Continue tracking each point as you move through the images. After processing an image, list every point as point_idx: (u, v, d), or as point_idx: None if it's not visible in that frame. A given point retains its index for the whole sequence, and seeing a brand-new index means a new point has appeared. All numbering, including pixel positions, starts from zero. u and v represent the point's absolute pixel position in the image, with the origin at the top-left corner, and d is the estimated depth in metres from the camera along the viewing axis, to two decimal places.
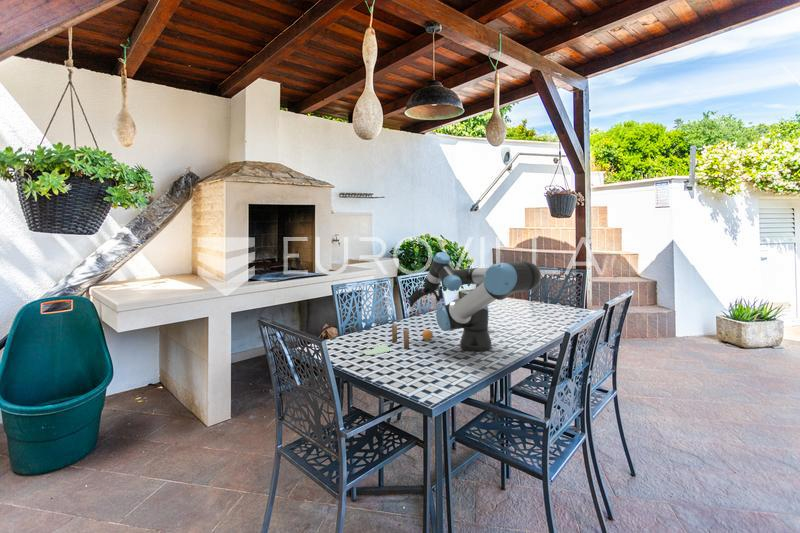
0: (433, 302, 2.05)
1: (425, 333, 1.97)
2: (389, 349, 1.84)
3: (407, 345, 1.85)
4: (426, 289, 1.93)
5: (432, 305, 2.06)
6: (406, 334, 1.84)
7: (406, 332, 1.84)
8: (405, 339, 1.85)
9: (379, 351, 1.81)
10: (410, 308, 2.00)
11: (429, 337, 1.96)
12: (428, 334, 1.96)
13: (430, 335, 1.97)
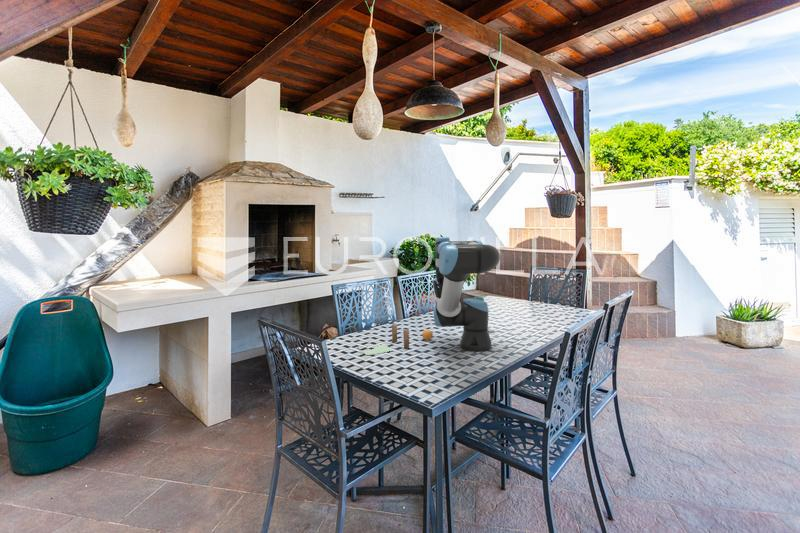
0: None
1: (425, 333, 1.97)
2: (389, 349, 1.84)
3: (407, 345, 1.85)
4: (439, 277, 1.98)
5: None
6: (406, 334, 1.84)
7: (406, 332, 1.84)
8: (405, 339, 1.85)
9: (379, 351, 1.81)
10: None
11: (429, 337, 1.96)
12: (428, 334, 1.96)
13: (430, 335, 1.97)
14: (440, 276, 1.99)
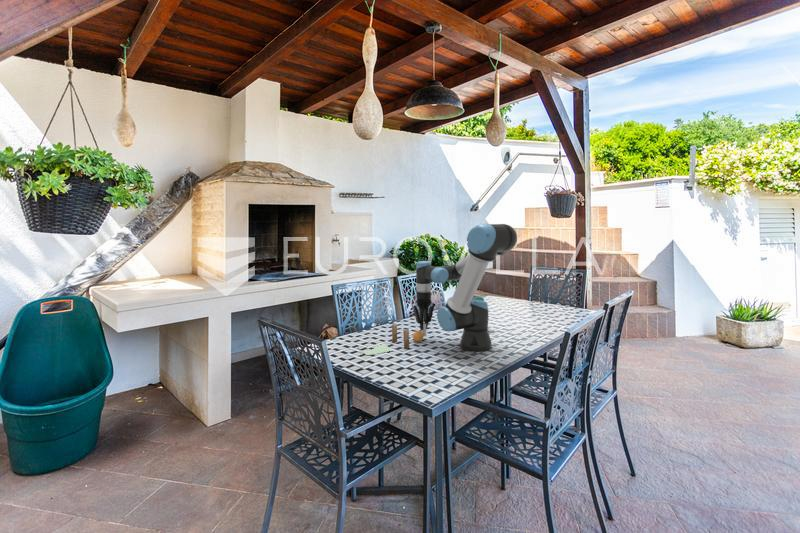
0: None
1: (417, 341, 1.95)
2: (389, 349, 1.84)
3: (407, 345, 1.85)
4: (419, 302, 1.95)
5: None
6: (406, 334, 1.84)
7: (406, 332, 1.84)
8: (405, 339, 1.85)
9: (379, 351, 1.81)
10: None
11: (421, 337, 1.95)
12: (419, 339, 1.94)
13: (419, 337, 1.94)
14: (420, 301, 1.95)
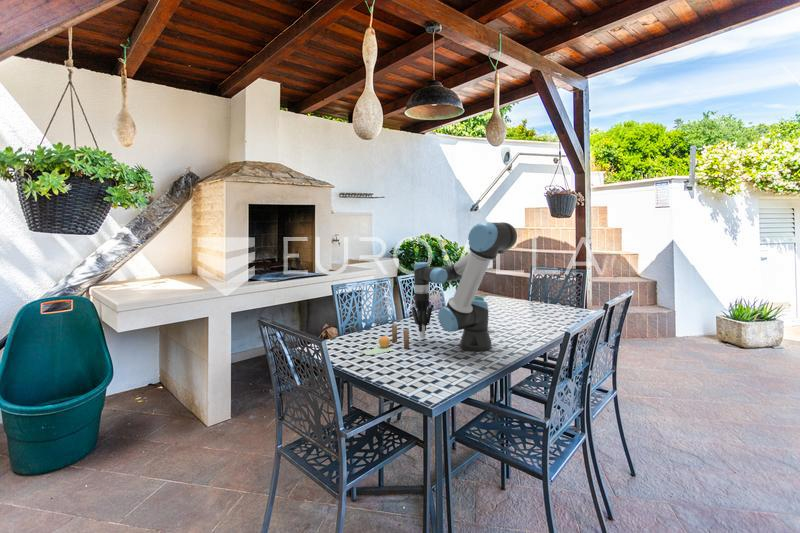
0: None
1: None
2: (389, 349, 1.84)
3: (407, 345, 1.85)
4: (418, 303, 1.94)
5: None
6: (406, 334, 1.84)
7: (406, 332, 1.84)
8: (405, 339, 1.85)
9: (379, 351, 1.81)
10: (421, 334, 1.97)
11: (387, 342, 1.86)
12: (386, 345, 1.86)
13: (385, 343, 1.85)
14: (419, 302, 1.94)
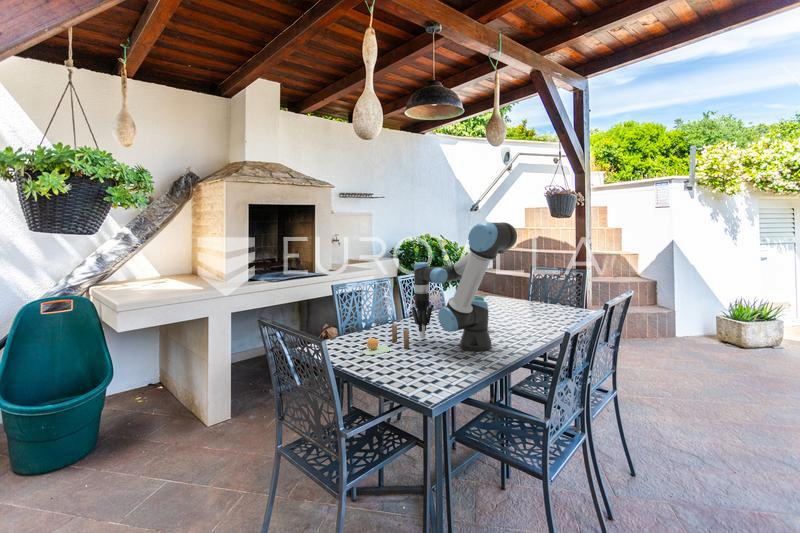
0: None
1: (376, 340, 1.84)
2: (389, 349, 1.84)
3: (407, 345, 1.85)
4: (418, 303, 1.94)
5: None
6: (406, 334, 1.84)
7: (406, 332, 1.84)
8: (405, 339, 1.85)
9: (379, 351, 1.81)
10: (421, 334, 1.97)
11: (373, 344, 1.82)
12: (376, 343, 1.83)
13: (375, 345, 1.83)
14: (419, 302, 1.94)
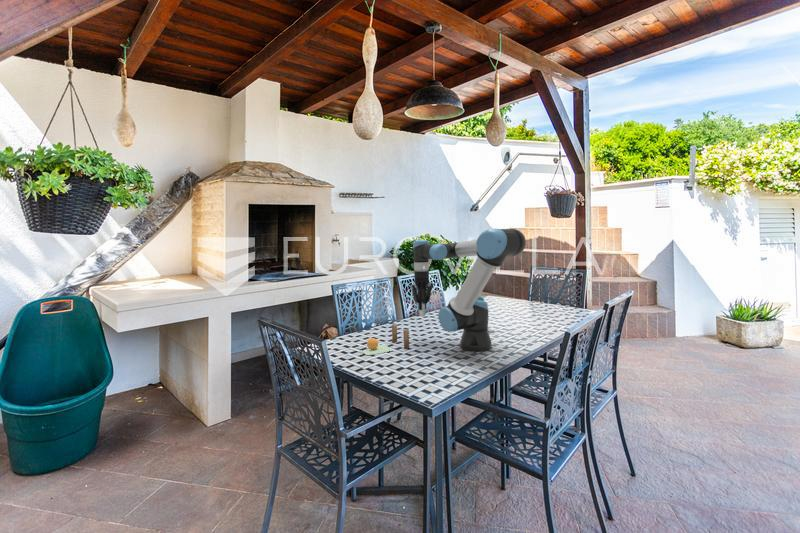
0: None
1: (376, 340, 1.84)
2: (389, 349, 1.84)
3: (407, 345, 1.85)
4: (417, 281, 1.92)
5: None
6: (406, 334, 1.84)
7: (406, 332, 1.84)
8: (405, 339, 1.85)
9: (379, 351, 1.81)
10: (421, 313, 1.96)
11: (373, 344, 1.82)
12: (376, 343, 1.83)
13: (375, 345, 1.83)
14: (419, 280, 1.93)
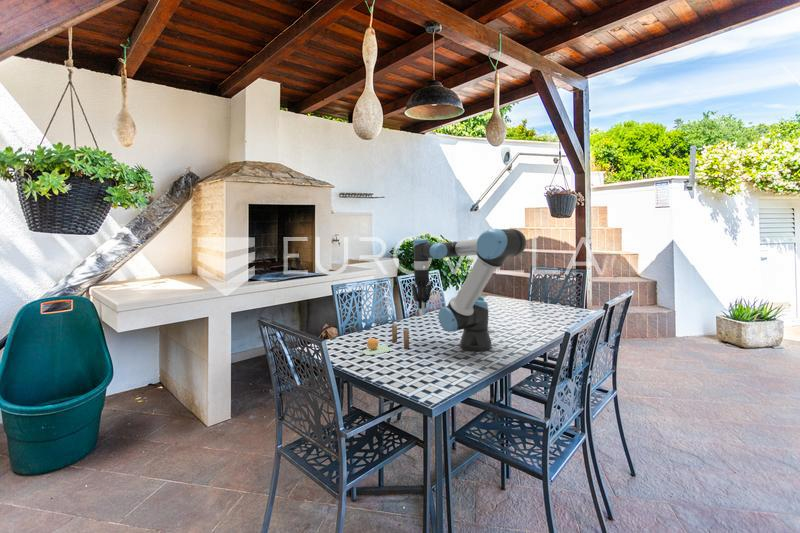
0: None
1: (376, 340, 1.84)
2: (389, 349, 1.84)
3: (407, 345, 1.85)
4: (417, 280, 1.92)
5: None
6: (406, 334, 1.84)
7: (406, 332, 1.84)
8: (405, 339, 1.85)
9: (379, 351, 1.81)
10: (420, 312, 1.96)
11: (373, 344, 1.82)
12: (376, 343, 1.83)
13: (375, 345, 1.83)
14: (419, 279, 1.93)
